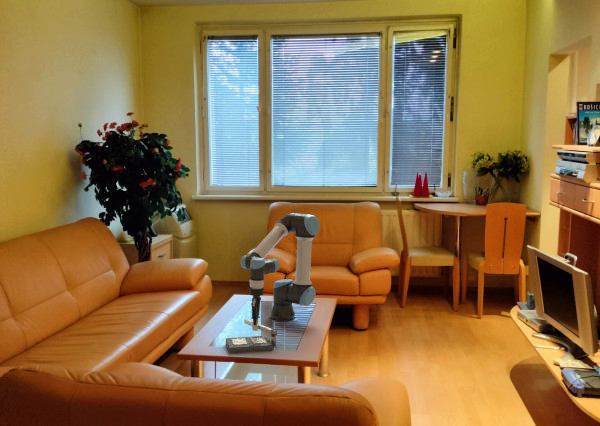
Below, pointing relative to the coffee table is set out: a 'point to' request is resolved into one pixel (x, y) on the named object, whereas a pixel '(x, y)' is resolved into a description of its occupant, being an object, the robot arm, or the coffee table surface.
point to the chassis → (250, 344)
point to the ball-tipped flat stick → (262, 327)
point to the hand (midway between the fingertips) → (255, 330)
